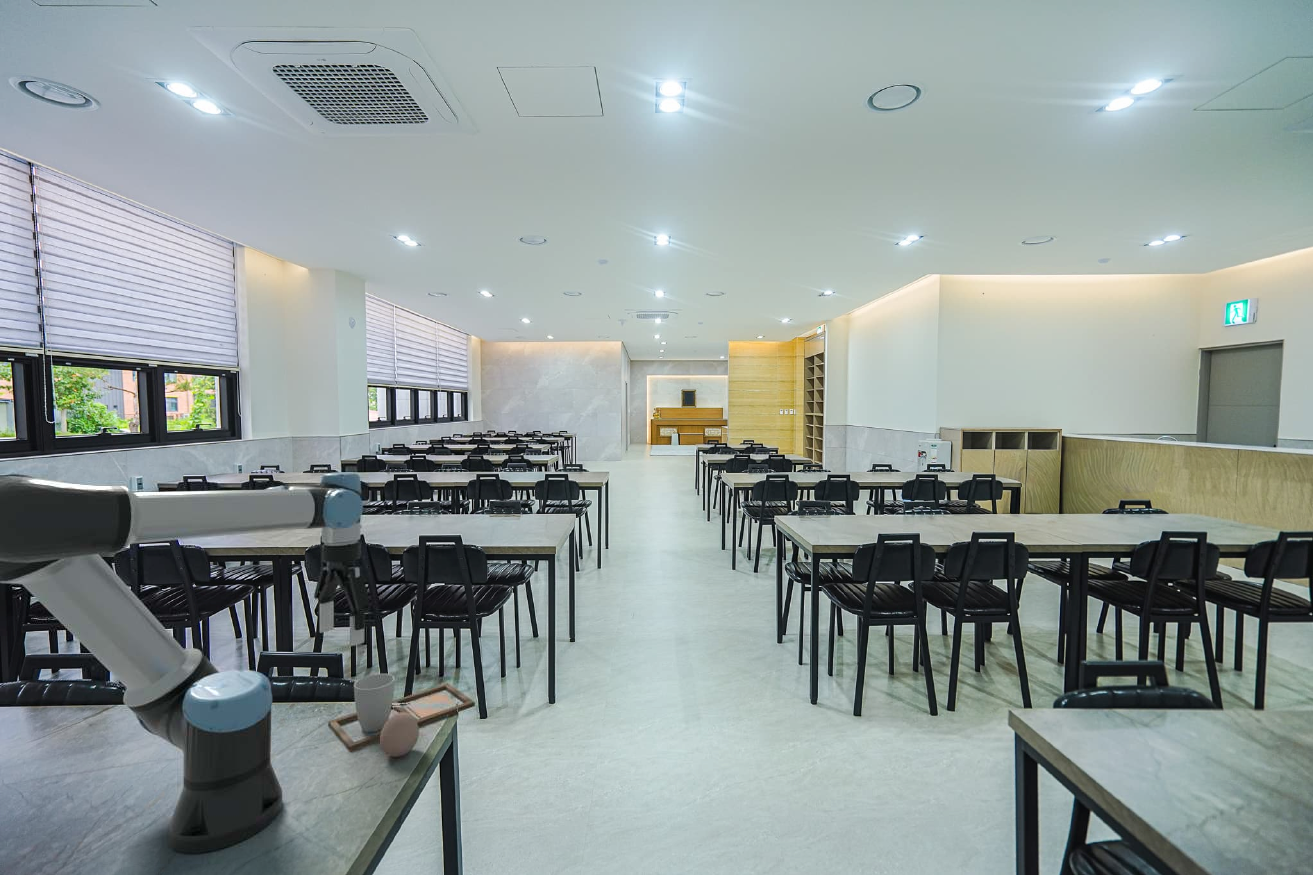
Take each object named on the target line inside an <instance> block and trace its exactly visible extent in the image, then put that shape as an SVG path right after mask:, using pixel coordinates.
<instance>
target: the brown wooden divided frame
mask: <svg viewBox="0 0 1313 875" xmlns="http://www.w3.org/2000/svg"><path fill="white" fill-rule="evenodd" d="M443 691H446V692H448V693H449V694H450V695H452V696H453V697H454V698H456V699H457V700H459V701H460V702H461V704H458V712H457V708H456V707H452V708H449V709H446V710H443V711H441V712H438V713H435V714H432V715H429V716H426V717H424V718H421V719H420V718H416V717H415V716H414V715H413V714H412V713H411V712H410V711H408V710H407V708H405V707H403V706H402V704H401V705H392V706H402V707H394V708H392V709H393V710H394V711H395V712H396V711H397V712H398V713H401V712H405V713H408V714H410V715H411V716H412V717H413V718H414V719H415V721H416V722H417V725H418V727H422V726H425V725H427V724H430V723H431V722H435V721H437V720H441V719H443V718H446V717H448V716H447V715H449V716H451V715H455V714H457V713H459V712H462V711H465V710H468V709H471V708H474V707H475V705H476V702H475V701H474V700H473V699H471V698H470V697H468V696H467V695H465V694H464V693H462V692H461V691H459V690H458V689H457V688H455V687H454V686H452V685H451V684H449V683H444V684H440V685H438V686H435V687H432V688H429V689H428V688H427V689H425V690H422V691H420V692H415V693H413V694H409V695H406V696H405V697H401V698H397V699H395V700H394V699H393V701H392V703H404V704H408V703H411V702H414V701H417V700H420V699H421V698H422V699H423V698H426V697H430V696H433V695H436V694H439V693H442V692H443ZM397 712H396V713H397ZM445 716H446V717H445ZM356 720H358V717H357V711H356V712H353V713H350V714H346V715H343V716H341V717H337V718H334V719H331V720H328V721H327V724H328V727H329V728H330V729H332V730H331V731H332V732H333V733H334V734H335V736H336V737H337V738H338V740H339V741H341V743H342V744H343V745H344V747H345V748H346V749H347V750H348V751H349V752H352V751H355V750H357V749H360V748H364V747H366V746H368V745H371V744H373V743H374V744H375V743H377V742H380V735H381V732H378V733H376V734H373V735H370V736H368V737H365V738H362V739H359V740H356V741H354V740H353V739H352V738H351V737H350V735H348V734H347V732H346V731H345V730H344V729H343V727H342V726H341V725H343V724H345V723H349V722H352V721H356Z"/></svg>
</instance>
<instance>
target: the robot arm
mask: <svg viewBox="0 0 1313 875" xmlns="http://www.w3.org/2000/svg"><path fill="white" fill-rule="evenodd" d="M361 484H362V483H361V477H360V475H359V474H358V473H355V472H330V473H324V474H323V475H322V476H321V482H319V483H312V484H294V485H280V486H271V487H267V488H265V489H253V490H252V489H249V490H248V489H246V490H245V489H244V490H243V489H241V490H239V489H238V490H203V491H202V490H197V491H196V490H195V491H194V490H193V491H189V490H188V491H154V492H153V491H149V492H148V491H147V492H142V491H141V492H132V491H131V490H130V489H128V488H127V487H126V486H124V485H91V484H81V483H80V484H79V483H73V482H65V481H59V480H54V479H49V478H42V477H41V478H40V477H35V476H34V477H33V476H30V475H26V474H19V473H6V474H0V584H17V585H18V584H19V585H22V586H23V587H24V588H25V589H26V590H27V591H28V592H29V593H30V594H31V595H32V596H33V597H34V598H35V599H36V600H37V601H38V602H39V603H41V605H42V606H44V608H46V610H47V611H48V612H49V613H50V614H52V615H53V617H55V618H56V620H57V621H59V623H60V624H62V626H64V628H66V629H67V631H69V633H71V635H73V636H74V638H76V640H78V641H79V642H80V644H82V645H83V646H84V647H85V648H86V649H87V650H88V651H89V652H90V653H91V654H92V655H93V656H94V657H95V658H96V659H97V661H99V662H100V663H101V664H102V665H103V666H104V668H106V669H107V670H108V671H109V672H110V673H111V674H112V675H113V676H114V677H115V678H116V679H117V680H118V681H119V682H120V683H121V684H122V685H123V686H124V687H125V688H126V690H125V692H124V695H123V698H122V701H123V704H124V705H125V706H126V707H128V709H130V710H131V711H132V712H133V713H134V714H135V717H136V719H137V721H138V723H139V725H140V726H141V727H142V728H143V729H144V730H145V731H147V732H148V733H150V734H152V735H155V736H157V737H159V738H161V739H162V740H165V741H166V742H167V743H170V744H171V745H172V746H175V747H176V748H178V749H180V750H181V751H182V753H183V782H182V784H183V788H182V790H181V793H180V796H179V798H178V801H177V803H176V806H175V808H174V811H173V814H172V816H171V819H170V821H169V824H168V825H169V826H168V845H169V847H170V848H171V849H172V850H174V851H175V852H177V853H183V854H201V853H208V852H212V851H214V852H215V851H217V850H221V849H224V848H227V847H231V846H232V845H236V844H238V843H240V842H242V841H244V840H246V839H248V838H250V837H253V836H254V835H256V834H257V833H259V832H260V831H262V830H263V829H265V828H266V827H267V826H269V825H270V824H271V823H272V822H273V821H275V819H276V818H277V817H278V815H279V814H280V812H281V811H282V807H283V789H282V786H281V785H280V782H279V779H278V777H277V774H276V772H275V770H274V768H273V765H272V763H271V762H272V761H271V758H272V757H271V753H272V752H271V751H272V750H271V747H272V744H271V743H272V705H273V694H272V687H271V682H270V679H269V678H268V677H267V676H266V675H264V673H261V672H259V671H256V670H250V669H246V670H241V669H233V670H225V671H219V670H218V669H217V668H216V667H215V665H214V664H212V662H211V661H210V660H209V659H208V658H207V657H206V656H205V655H204V653H203V652H202V651H201V650H200V649H198V648H192V647H191V648H183V647H182V646H181V644H180V643H179V642H178V640H176V639H175V638H174V637H173V636H172V635H171V633H170V632H169V631H168V630H167V629H166V628H165V627H164V625H163V624H162V623H161V622H160V621H159V620H158V619H157V617H155V615H153V614H152V612H151V611H150V609H149V608H147V606H145V604H144V603H143V602H142V601H141V600H140V599H139V597H137V595H136V594H135V593H134V592H133V591H132V590H131V589H130V588H129V586H128V585H127V584H126V583H125V582H124V581H123V579H121V577H120V576H118V574H117V573H116V572H115V571H114V570H113V569H112V568H111V566H110V565H109V564H108V563H107V562H106V561H105V560H104V559H103V557H101V555H100V554H107V553H108V554H109V553H117V552H122V551H124V550H125V549H126V548H128V547H129V546H130V545H131V544H141V543H154V542H163V541H165V542H166V541H177V540H178V541H179V540H188V539H198V538H199V539H200V538H211V537H222V536H234V535H246V534H257V533H271V532H272V533H273V532H282V531H293V530H295V531H296V530H311V529H321V542H322V543H324V544H322V545H321V562H320V563H321V564H320V571H319V575H318V577H317V578H318V579H317V582H316V586H315V587H316V588H315V591H314V595H313V598H314V599H315V600H317V602H318V603H319V633H320V634H322V633H327V632H330V631H334V628H335V627H334V626H335V625H334V624H335V622H334V619H335V616H334V612H335V611H334V607H335V606H334V600H335V598H334V595H335V594H336V590H337V589H338V586H339V588H340V589H341V590H343V591H344V594H345V597H346V600H347V604H348V605H349V608H350V611H351V612H350V613H349V615H348V616H349V646H350V647H353V646H357V645H360V644H364V643H365V614H367V613H369V612H371V611H372V607H371V603H370V599H369V594H368V590H367V585H366V583H365V578H364V567H363V566H355V562H356V561H357V560H359V559H360V558H361V554H362V551H361V547H362V546H361V544H362V543H361V542H360V541H359V540H360V539H361V529H362V525H361V517H362V515H363V509H364V507H363V506H364V504H363V501H362V487H361V486H362V485H361Z"/></svg>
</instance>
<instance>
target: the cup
mask: <svg viewBox="0 0 1313 875" xmlns="http://www.w3.org/2000/svg"><path fill="white" fill-rule="evenodd" d="M394 688H395V676H394V675H392V674H390V673H376V674H370V675H366V676H364V677H362V678H360V679H358V680H356V681H355V682H354V683H353V692H354V705H355V710H356V712H357V717H358V719H357V720H358V723H359V725H360V728H361V730H362V731H363V732H367V733H368V732H369V733H370V732H371V733H372V731H373V732H377V731H379V729H380V730H382V729H383V727H384V725H385V723H386V722H387V721H388V719H389V718H390V715H391V711H392V708H391V707H392V701H394V691H395V689H394Z"/></svg>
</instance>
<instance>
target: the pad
mask: <svg viewBox="0 0 1313 875" xmlns="http://www.w3.org/2000/svg"><path fill="white" fill-rule="evenodd" d="M420 702H428V703H440V702H444V703H451V702H455V701H454V700H453V699H451V698H450V697H449V696H447V695H446V694H445V693H443V692H439V693H436V694H432V695H429V696H426V697H423V698H422V699H421V698H420V699H417V700H414V701H411V703H420ZM452 707H454V706H452ZM452 707H450V708H452ZM417 708H421V707H407V709H409V710H410V711H411V712H412V713H413V712H414V713H413V714H415V715H416V716H417V717H418V719H421V718H424V717H426V716H429V715H432V714H435V713H438V712H441V711H443V710H446V709H422V708H421V709H417ZM424 708H425V707H424ZM430 708H431V707H430ZM445 708H449V707H445Z"/></svg>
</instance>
